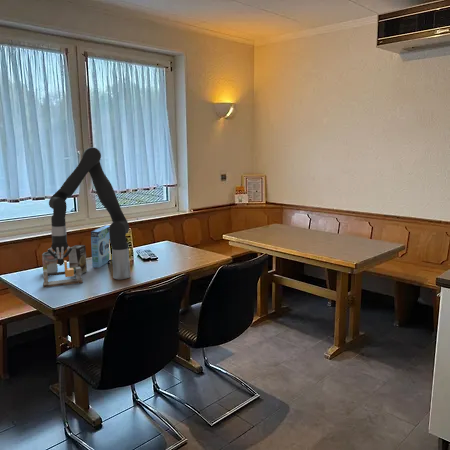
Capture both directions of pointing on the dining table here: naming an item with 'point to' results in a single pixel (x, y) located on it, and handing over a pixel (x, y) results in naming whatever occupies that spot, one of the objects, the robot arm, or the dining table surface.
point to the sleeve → (68, 270)
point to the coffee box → (78, 258)
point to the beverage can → (49, 262)
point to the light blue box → (100, 246)
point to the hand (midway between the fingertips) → (60, 265)
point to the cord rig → (62, 282)
